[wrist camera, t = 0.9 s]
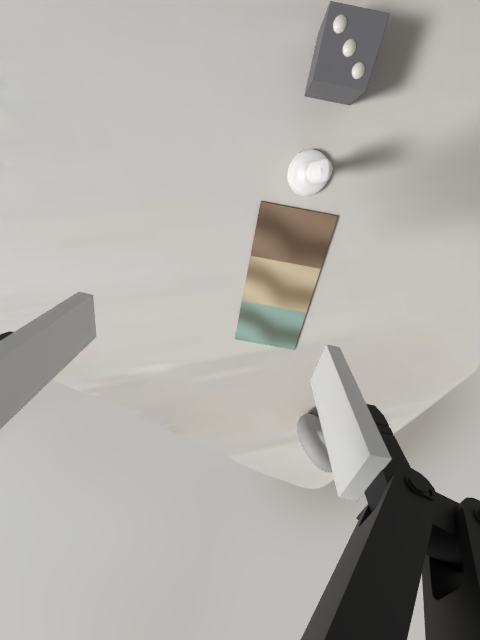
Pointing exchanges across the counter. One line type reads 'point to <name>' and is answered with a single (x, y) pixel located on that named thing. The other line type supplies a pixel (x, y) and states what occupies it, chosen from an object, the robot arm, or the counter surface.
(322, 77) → the die
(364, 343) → the counter surface
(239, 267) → the counter surface
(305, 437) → the donut
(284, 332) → the track
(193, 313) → the counter surface
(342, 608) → the robot arm
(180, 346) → the counter surface
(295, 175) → the chess piece
